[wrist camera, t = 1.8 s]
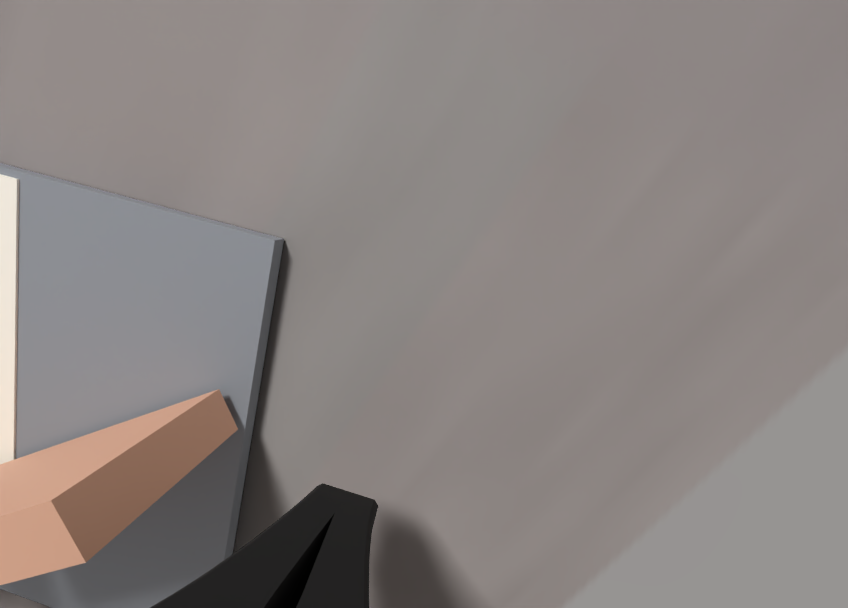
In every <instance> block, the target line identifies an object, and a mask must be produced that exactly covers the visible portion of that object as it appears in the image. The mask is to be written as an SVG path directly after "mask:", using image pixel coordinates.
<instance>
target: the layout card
mask: <svg viewBox="0 0 848 608" xmlns="http://www.w3.org/2000/svg"><path fill="white" fill-rule="evenodd" d="M283 243H284V239H282V238H279V237H275V236H271V235H268V234H264V233H260V232H256V231H253V230H249V229H245V228H241V227H238V226H234V225H230V224H227V223H223V222H219V221H215V220H212V219H208V218H204V217H200V216H197V215H193V214H189V213H185V212H182V211H178V210H174V209H171V208H167V207H163V206H159V205H156V204H152V203H148V202H144V201H141V200H137V199H133V198H130V197H126V196H122V195H118V194H115V193H111V192H107V191H103V190H100V189H96V188H92V187H88V186H85V185H81V184H77V183H74V182H70V181H66V180H62V179H59V178H55V177H51V176H47V175H44V174H40V173H36V172H33V171H29V170H25V169H21V168H18V167H14V166H10V165H6V164H3V163H0V464H3V463H6V462H9V461H12V460H15V459H18V458H20V457H23V456H26V455H29V454H32V453H35V452H38V451H41V450H44V449H47V448H49V447H52V446H55V445H58V444H61V443H64V442H67V441H70V440H73V439H76V438H79V437H81V436H84V435H87V434H90V433H93V432H96V431H99V430H102V429H105V428H108V427H110V426H113V425H116V424H119V423H122V422H125V421H128V420H131V419H134V418H137V417H139V416H142V415H145V414H148V413H151V412H154V411H157V410H160V409H163V408H166V407H169V406H171V405H174V404H177V403H180V402H183V401H186V400H189V399H192V398H195V397H198V396H200V395H203V394H206V393H209V392H212V391H215V390H218V389H219V390H220V392H221V394H222V396H223V398H224V400H225V403H226V405H227V407H228V409H229V411H230V413H231V415H232V417H233V419H234V421H235V423H236V426H237V428H238V430H237V431H236V432H235V433H233V434H232V435H231V436H230V437H229V438H228V439H227V440H225V441H224V442H223V443H222V444H221V445H220V446H219V447H217V448H216V449H215V450H214V451H213V452H212V453H211V454H209V455H208V456H207V457H206V458H205V459H204V460H203V461H201V462H200V463H199V464H198V465H197V466H196V467H195V468H193V469H192V470H191V471H190V472H189V473H188V474H187V475H185V476H184V477H183V478H182V479H181V480H180V481H179V482H177V483H176V484H175V485H174V486H173V487H172V488H171V489H169V490H168V491H167V492H166V493H165V494H164V495H163V496H161V497H160V498H159V499H158V500H157V501H156V502H155V503H153V504H152V505H151V506H150V507H149V508H148V509H147V510H145V511H144V512H143V513H142V514H141V515H140V516H139V517H137V518H136V519H135V520H134V521H133V522H132V523H131V524H129V525H128V526H127V527H126V528H125V529H124V530H123V531H121V532H120V533H119V534H118V535H117V536H116V537H115V538H113V539H112V540H111V541H110V542H109V543H108V544H107V545H105V546H104V547H103V548H102V549H101V550H100V551H99V552H98V553H96V554H95V555H94V556H93V557H92V558H91V559H90V560H88V561H87V562H86V563H83V564H79V565H75V566H71V567H68V568H64V569H60V570H56V571H52V572H49V573H45V574H41V575H37V576H34V577H30V578H26V579H22V580H18V581H15V582H11V583H7V584H3V585H0V589H2V590H4V591H7V592H10V593H13V594H15V595H18V596H21V597H24V598H26V599H29V600H32V601H35V602H37V603H40V604H43V605H46V606H48V607H51V608H150V607H152V606H153V605H155V604H157V603H158V602H160V601H162V600H164V599H165V598H167V597H169V596H170V595H172V594H174V593H175V592H177V591H178V590H180V589H182V588H183V587H185V586H186V585H188V584H190V583H191V582H193V581H194V580H196V579H197V578H199V577H200V576H202V575H203V574H205V573H206V572H208V571H209V570H211V569H212V568H214V567H215V566H217V565H218V564H219V563H221V562H222V561H224V560H225V559H227V558H228V557H229V556H231V555H232V554H233V549H234V542H235V536H236V530H237V524H238V518H239V512H240V506H241V500H242V493H243V487H244V481H245V475H246V469H247V463H248V457H249V451H250V445H251V438H252V432H253V426H254V420H255V414H256V408H257V402H258V396H259V390H260V383H261V377H262V371H263V365H264V359H265V353H266V347H267V341H268V335H269V328H270V322H271V316H272V310H273V304H274V298H275V292H276V286H277V279H278V273H279V267H280V261H281V255H282V249H283Z"/></svg>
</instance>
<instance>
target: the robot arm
mask: <svg viewBox="0 0 848 608" xmlns="http://www.w3.org/2000/svg"><path fill="white" fill-rule="evenodd" d="M377 508H378V505H377V503H376V501H375V500H373V499H370V498H367V497H364V496H361V495H358V494H354V493H351V492H348V491H345V490H342V489H339V488H336V487H332V486H329V485H326V484H321V485H319V486H317V487H316V488H315V489H314V490H313V491H311V492H310V493H309V494H308V495H307V496H306V497H305V498H304V499H303V500H301V501H300V502H299V503H298V504H297V505H296V506H294V507H293V508H292V509H291V510H290V511H288V512H287V513H286V514H285V515H284V516H282V517H281V518H280V519H279V520H278V521H276V522H275V523H274V524H272V525H271V526H270V527H269V528H267V529H266V530H265V531H263V532H262V533H261V534H259V535H258V536H257V537H256V538H254V539H253V540H252V541H250V542H249V543H248V544H246V545H245V546H244V547H242V548H241V549H240V550H238V551H237V552H235V553H234V554H232V555H231V556H229V557H228V558H227V559H225V560H224V561H222V562H221V563H219V564H218V565H217V566H215V567H214V568H212V569H211V570H209V571H208V572H206V573H205V574H203V575H202V576H200V577H199V578H197V579H196V580H194V581H193V582H191V583H190V584H188V585H186V586H185V587H183V588H182V589H180V590H178V591H177V592H175V593H174V594H172V595H170V596H169V597H167V598H165V599H164V600H162V601H160V602H158V603H157V604H155V605H153V606H152V607H150V608H369V555H370V543H371V533H372V528H373V524H374V520H375V516H376V512H377Z"/></svg>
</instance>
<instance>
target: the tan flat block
mask: <svg viewBox="0 0 848 608" xmlns="http://www.w3.org/2000/svg"><path fill="white" fill-rule="evenodd" d="M237 430H238V428H237V426H236V423H235V421H234V419H233V417H232V415H231V413H230V411H229V409H228V407H227V405H226V403H225V400H224V398H223V396H222V394H221V392H220V390H219V389H218V390H215V391H212V392H209V393H206V394H203V395H200V396H198V397H195V398H192V399H189V400H186V401H183V402H180V403H177V404H174V405H171V406H169V407H166V408H163V409H160V410H157V411H154V412H151V413H148V414H145V415H142V416H139V417H137V418H134V419H131V420H128V421H125V422H122V423H119V424H116V425H113V426H110V427H108V428H105V429H102V430H99V431H96V432H93V433H90V434H87V435H84V436H81V437H79V438H76V439H73V440H70V441H67V442H64V443H61V444H58V445H55V446H52V447H49V448H47V449H44V450H41V451H38V452H35V453H32V454H29V455H26V456H23V457H20V458H18V459H15V460H12V461H9V462H6V463H3V464H0V585H3V584H7V583H11V582H15V581H18V580H22V579H26V578H30V577H34V576H37V575H41V574H45V573H49V572H52V571H56V570H60V569H64V568H68V567H71V566H75V565H79V564H83V563H86V562H87V561H88V560H90V559H91V558H92V557H93V556H94V555H95V554H96V553H98V552H99V551H100V550H101V549H102V548H103V547H104V546H105V545H107V544H108V543H109V542H110V541H111V540H112V539H113V538H115V537H116V536H117V535H118V534H119V533H120V532H121V531H123V530H124V529H125V528H126V527H127V526H128V525H129V524H131V523H132V522H133V521H134V520H135V519H136V518H137V517H139V516H140V515H141V514H142V513H143V512H144V511H145V510H147V509H148V508H149V507H150V506H151V505H152V504H153V503H155V502H156V501H157V500H158V499H159V498H160V497H161V496H163V495H164V494H165V493H166V492H167V491H168V490H169V489H171V488H172V487H173V486H174V485H175V484H176V483H177V482H179V481H180V480H181V479H182V478H183V477H184V476H185V475H187V474H188V473H189V472H190V471H191V470H192V469H193V468H195V467H196V466H197V465H198V464H199V463H200V462H201V461H203V460H204V459H205V458H206V457H207V456H208V455H209V454H211V453H212V452H213V451H214V450H215V449H216V448H217V447H219V446H220V445H221V444H222V443H223V442H224V441H225V440H227V439H228V438H229V437H230V436H231V435H232V434H233V433H235V432H236V431H237Z"/></svg>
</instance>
